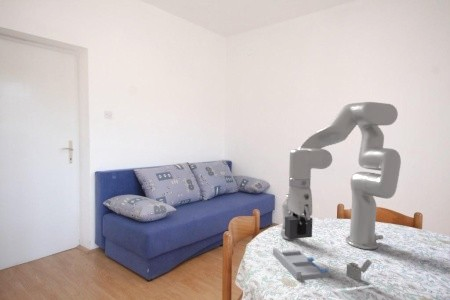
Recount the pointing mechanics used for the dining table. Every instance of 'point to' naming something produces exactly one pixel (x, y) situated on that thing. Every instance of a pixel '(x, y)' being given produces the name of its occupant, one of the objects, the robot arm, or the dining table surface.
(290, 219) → the dark gray block
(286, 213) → the plastic bottle
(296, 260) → the grey tray
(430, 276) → the dining table surface
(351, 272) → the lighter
